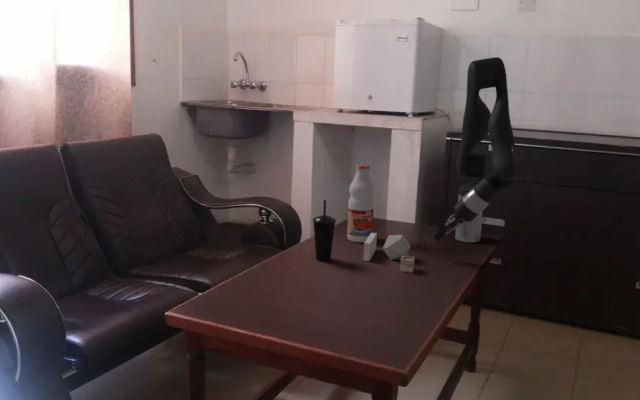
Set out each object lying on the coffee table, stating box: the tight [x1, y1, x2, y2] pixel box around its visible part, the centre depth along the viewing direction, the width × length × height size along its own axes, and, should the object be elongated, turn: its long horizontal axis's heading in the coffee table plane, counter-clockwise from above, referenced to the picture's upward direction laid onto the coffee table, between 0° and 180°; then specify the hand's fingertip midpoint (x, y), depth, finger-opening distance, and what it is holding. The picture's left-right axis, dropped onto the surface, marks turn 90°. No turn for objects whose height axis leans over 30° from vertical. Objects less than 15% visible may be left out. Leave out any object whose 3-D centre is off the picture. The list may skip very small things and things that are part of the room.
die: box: [382, 234, 412, 261], centre depth 206 cm, size 8×9×10 cm
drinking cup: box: [312, 199, 337, 262], centre depth 201 cm, size 8×8×20 cm
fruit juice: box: [346, 163, 375, 243], centre depth 225 cm, size 9×9×28 cm
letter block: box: [399, 255, 416, 274], centre depth 195 cm, size 4×4×4 cm
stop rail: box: [362, 232, 378, 262], centre depth 209 cm, size 14×2×6 cm, turn 166°
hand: (436, 238), depth 206 cm, fingers closed
